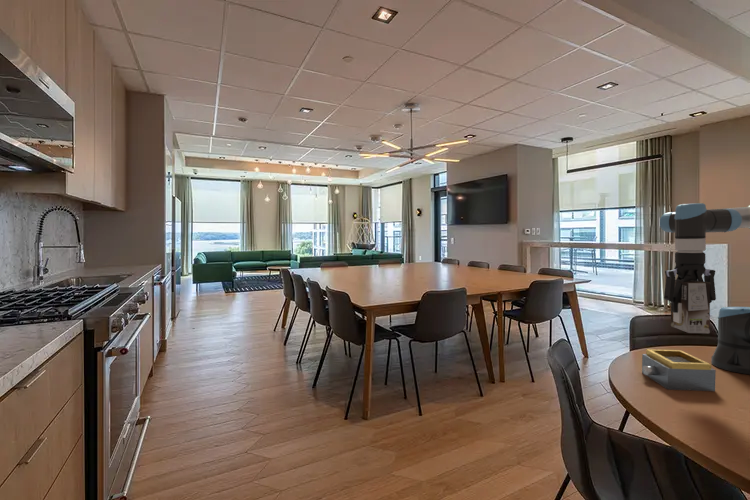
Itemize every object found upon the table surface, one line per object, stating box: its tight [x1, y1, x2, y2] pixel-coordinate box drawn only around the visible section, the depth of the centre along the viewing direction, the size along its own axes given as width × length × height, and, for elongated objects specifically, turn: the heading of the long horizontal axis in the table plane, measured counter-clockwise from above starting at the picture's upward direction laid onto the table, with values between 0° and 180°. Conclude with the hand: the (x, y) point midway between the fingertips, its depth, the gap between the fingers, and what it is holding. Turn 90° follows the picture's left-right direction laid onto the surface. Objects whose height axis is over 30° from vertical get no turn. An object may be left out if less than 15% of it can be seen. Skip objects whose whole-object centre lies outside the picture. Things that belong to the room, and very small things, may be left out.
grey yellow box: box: [641, 348, 717, 392], centre depth 127 cm, size 17×14×9 cm
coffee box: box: [670, 279, 711, 334], centre depth 119 cm, size 9×6×16 cm
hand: (689, 322), depth 119 cm, fingers closed on coffee box, 7 cm apart
